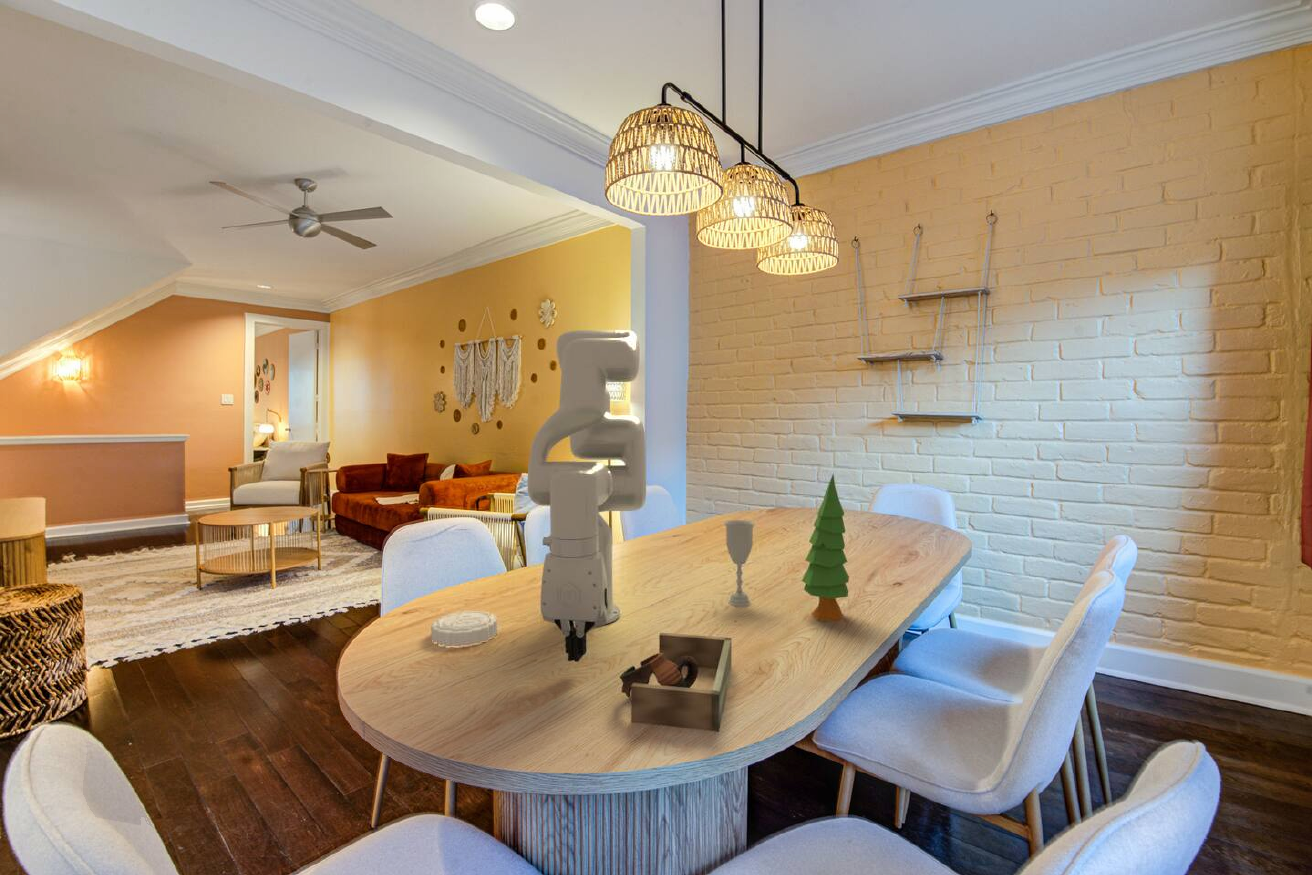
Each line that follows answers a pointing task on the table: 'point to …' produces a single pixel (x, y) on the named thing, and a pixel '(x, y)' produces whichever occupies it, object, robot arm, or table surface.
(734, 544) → the chalice
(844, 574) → the decorative tree
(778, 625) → the table surface
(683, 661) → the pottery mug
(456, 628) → the mooncake
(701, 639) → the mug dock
